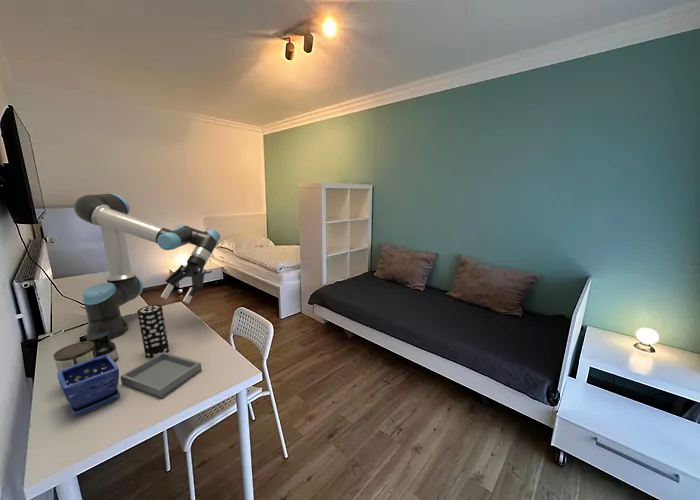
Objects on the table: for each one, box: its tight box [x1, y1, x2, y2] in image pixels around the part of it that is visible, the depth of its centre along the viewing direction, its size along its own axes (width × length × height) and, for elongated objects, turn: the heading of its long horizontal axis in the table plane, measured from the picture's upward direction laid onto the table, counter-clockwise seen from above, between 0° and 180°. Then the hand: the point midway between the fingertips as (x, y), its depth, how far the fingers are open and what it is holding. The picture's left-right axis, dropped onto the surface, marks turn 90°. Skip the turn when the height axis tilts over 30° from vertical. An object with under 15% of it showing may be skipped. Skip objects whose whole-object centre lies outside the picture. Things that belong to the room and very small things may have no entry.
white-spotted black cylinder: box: [136, 304, 170, 360], centre depth 119 cm, size 8×8×20 cm
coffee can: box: [52, 340, 97, 385], centre depth 101 cm, size 10×10×14 cm
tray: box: [119, 352, 203, 400], centre depth 106 cm, size 20×16×4 cm
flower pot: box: [56, 355, 121, 416], centre depth 93 cm, size 13×13×12 cm
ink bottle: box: [86, 331, 119, 369], centre depth 114 cm, size 10×9×12 cm
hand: (174, 300), depth 126 cm, fingers open, 13 cm apart
